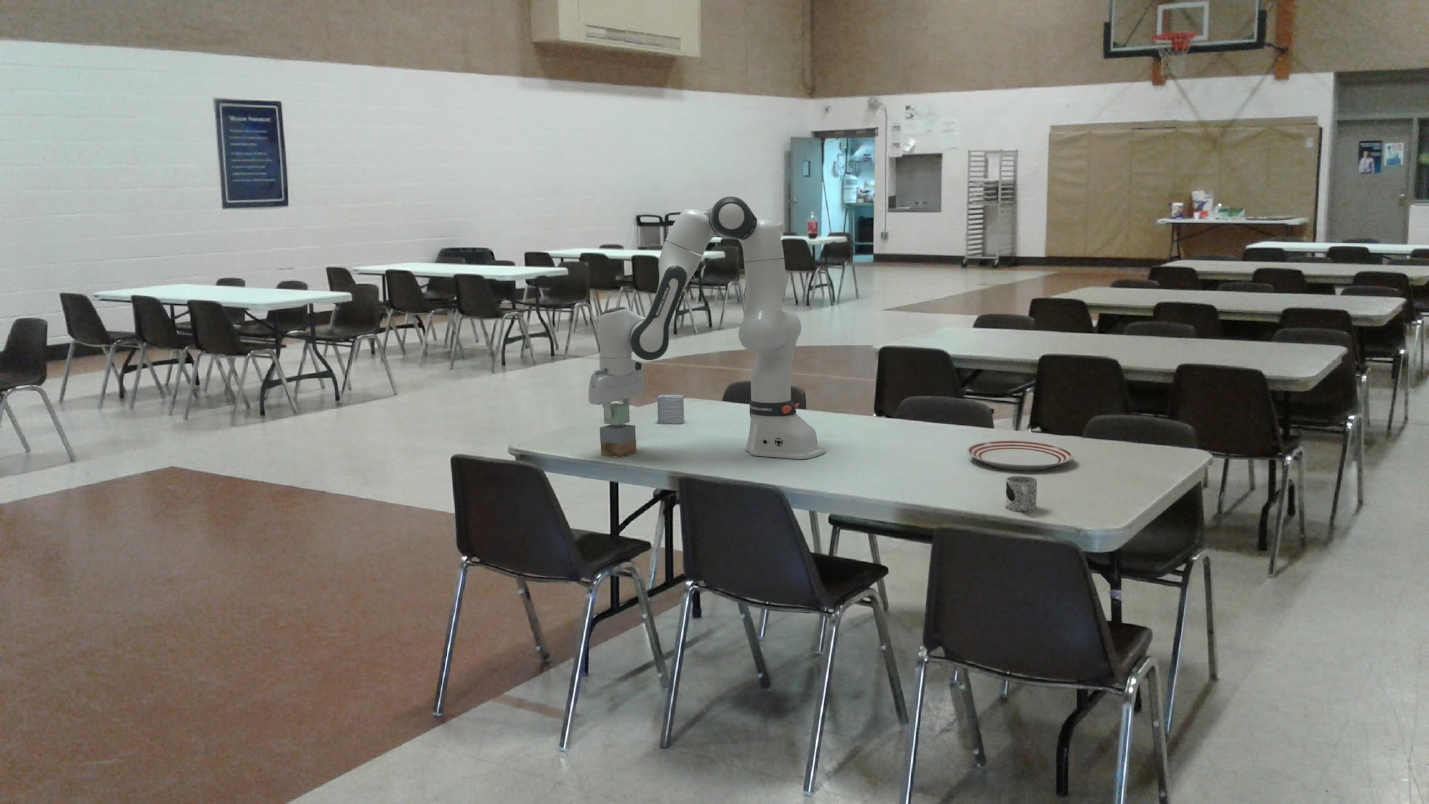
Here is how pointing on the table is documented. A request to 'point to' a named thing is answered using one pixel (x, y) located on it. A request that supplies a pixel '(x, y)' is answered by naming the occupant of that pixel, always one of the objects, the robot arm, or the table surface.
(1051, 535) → the table surface
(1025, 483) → the mug
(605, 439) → the tower top
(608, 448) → the tower base
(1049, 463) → the dinner plate
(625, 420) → the sage block
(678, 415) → the medicine box
